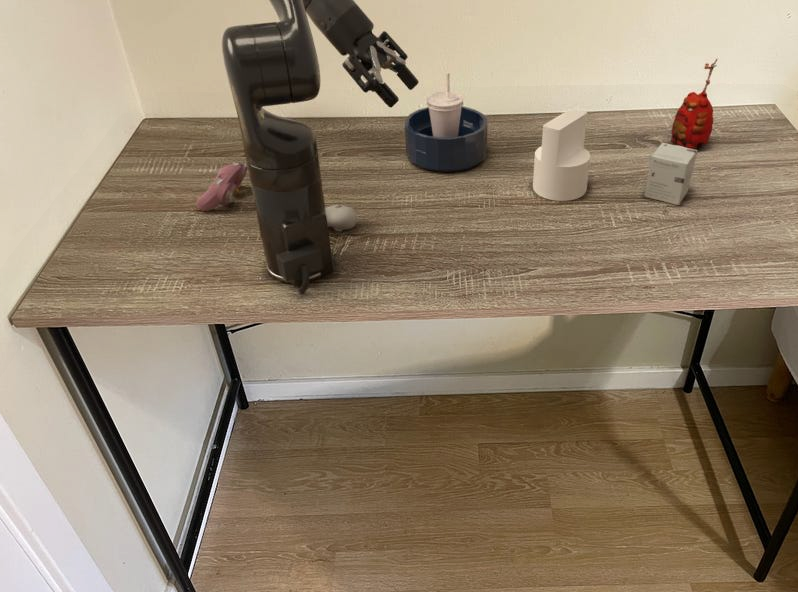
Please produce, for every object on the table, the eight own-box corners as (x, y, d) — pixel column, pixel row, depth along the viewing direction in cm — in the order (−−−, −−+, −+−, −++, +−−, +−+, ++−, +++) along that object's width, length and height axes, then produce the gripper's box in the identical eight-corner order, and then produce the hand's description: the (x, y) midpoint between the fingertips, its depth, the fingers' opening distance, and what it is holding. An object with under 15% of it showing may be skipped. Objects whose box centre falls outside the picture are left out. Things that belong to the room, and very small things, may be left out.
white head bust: (360, 228, 120) (354, 235, 116) (309, 226, 121) (302, 233, 116) (359, 200, 119) (354, 207, 114) (308, 198, 119) (301, 205, 114)
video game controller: (219, 223, 122) (229, 189, 118) (192, 209, 122) (202, 175, 117) (244, 194, 130) (255, 161, 125) (220, 180, 129) (230, 147, 124)
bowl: (502, 160, 136) (504, 125, 132) (436, 182, 130) (435, 146, 125) (456, 132, 145) (456, 99, 141) (391, 152, 139) (389, 117, 134)
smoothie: (463, 159, 134) (463, 80, 125) (426, 159, 134) (424, 80, 125) (464, 144, 139) (463, 66, 130) (429, 143, 139) (426, 66, 130)
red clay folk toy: (661, 138, 143) (675, 57, 133) (692, 132, 145) (708, 51, 135) (687, 155, 137) (703, 71, 128) (718, 147, 140) (736, 64, 130)
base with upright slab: (568, 206, 123) (575, 135, 115) (522, 190, 127) (526, 121, 120) (596, 185, 129) (604, 116, 121) (551, 170, 133) (556, 103, 125)
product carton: (643, 197, 125) (650, 155, 121) (654, 182, 130) (661, 141, 125) (679, 206, 123) (688, 163, 119) (689, 190, 127) (698, 148, 123)
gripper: (331, 16, 121) (401, 97, 125) (371, -8, 131) (434, 68, 135) (306, 46, 126) (375, 123, 130) (346, 21, 136) (408, 93, 140)
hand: (405, 95), depth 133 cm, fingers open, 8 cm apart
